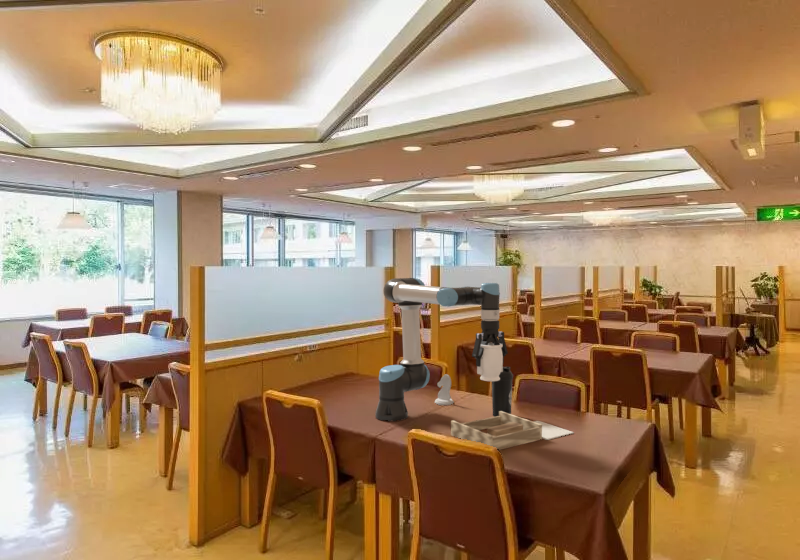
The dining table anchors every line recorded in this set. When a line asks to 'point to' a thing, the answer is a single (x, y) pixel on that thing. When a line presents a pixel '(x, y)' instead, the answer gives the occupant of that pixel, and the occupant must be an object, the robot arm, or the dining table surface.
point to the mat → (552, 431)
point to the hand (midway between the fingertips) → (490, 372)
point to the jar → (492, 362)
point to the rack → (528, 434)
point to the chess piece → (444, 391)
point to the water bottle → (502, 392)
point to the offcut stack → (504, 429)
